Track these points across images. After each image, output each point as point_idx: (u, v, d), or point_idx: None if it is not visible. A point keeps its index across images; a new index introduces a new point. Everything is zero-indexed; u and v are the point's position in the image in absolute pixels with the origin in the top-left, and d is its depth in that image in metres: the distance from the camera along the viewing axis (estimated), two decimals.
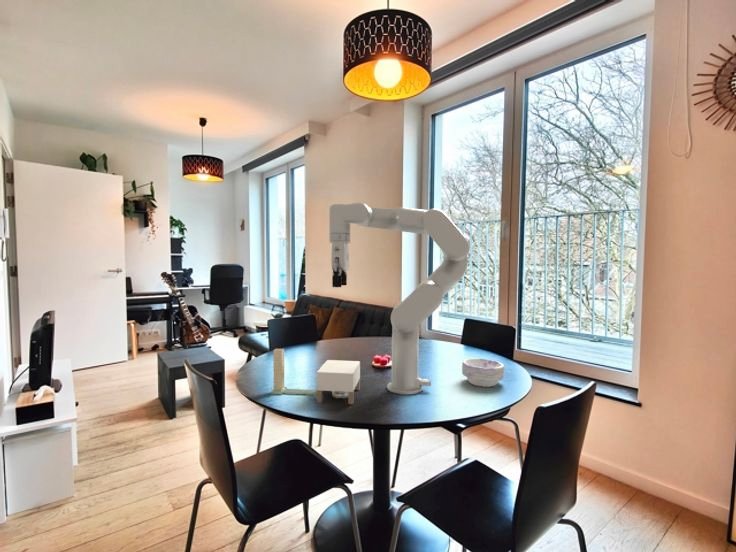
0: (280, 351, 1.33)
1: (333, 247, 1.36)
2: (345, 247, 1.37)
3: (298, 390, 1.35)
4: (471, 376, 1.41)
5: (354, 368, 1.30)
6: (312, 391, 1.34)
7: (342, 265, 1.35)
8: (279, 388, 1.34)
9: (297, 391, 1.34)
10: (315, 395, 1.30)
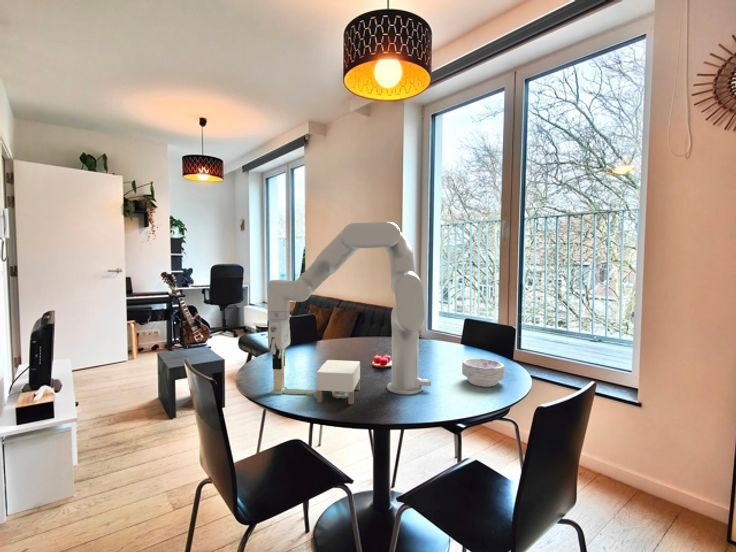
0: None
1: (270, 326, 1.30)
2: (283, 326, 1.31)
3: (298, 390, 1.35)
4: (471, 376, 1.41)
5: (354, 368, 1.30)
6: (312, 391, 1.34)
7: (279, 346, 1.29)
8: (279, 388, 1.34)
9: (297, 391, 1.34)
10: (315, 395, 1.30)
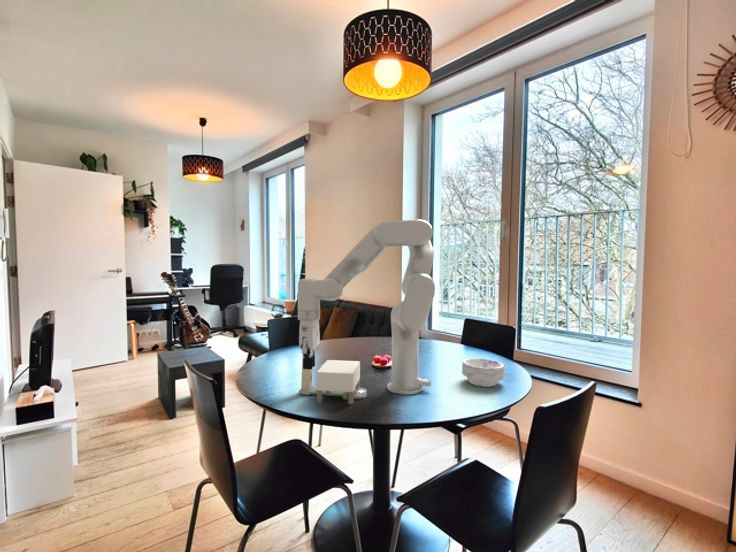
0: None
1: (301, 326, 1.29)
2: (314, 325, 1.30)
3: None
4: (471, 376, 1.41)
5: (354, 368, 1.30)
6: (340, 392, 1.33)
7: (310, 345, 1.28)
8: (307, 388, 1.33)
9: (325, 391, 1.32)
10: (344, 396, 1.29)
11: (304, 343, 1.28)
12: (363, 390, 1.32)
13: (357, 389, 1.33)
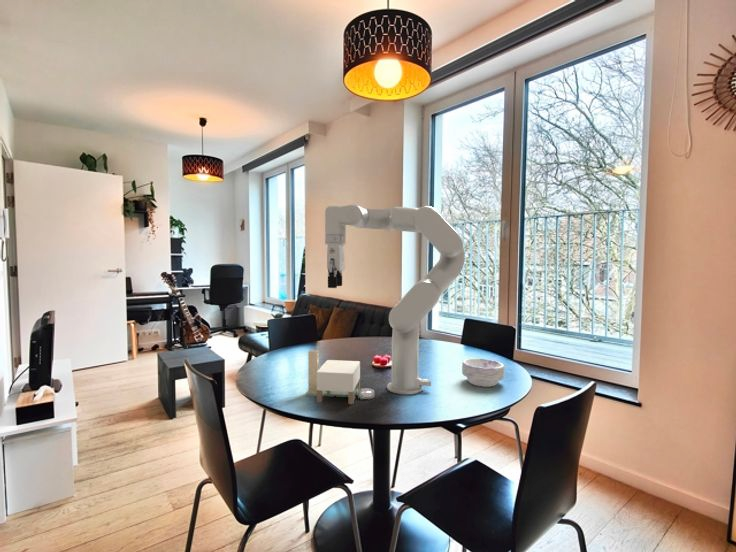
0: (315, 352, 1.32)
1: (328, 248, 1.38)
2: (340, 248, 1.39)
3: (333, 392, 1.33)
4: (471, 376, 1.41)
5: (354, 368, 1.30)
6: (347, 393, 1.32)
7: (337, 266, 1.37)
8: (314, 390, 1.32)
9: (332, 393, 1.32)
10: None
11: None
12: (370, 391, 1.31)
13: (364, 390, 1.33)
